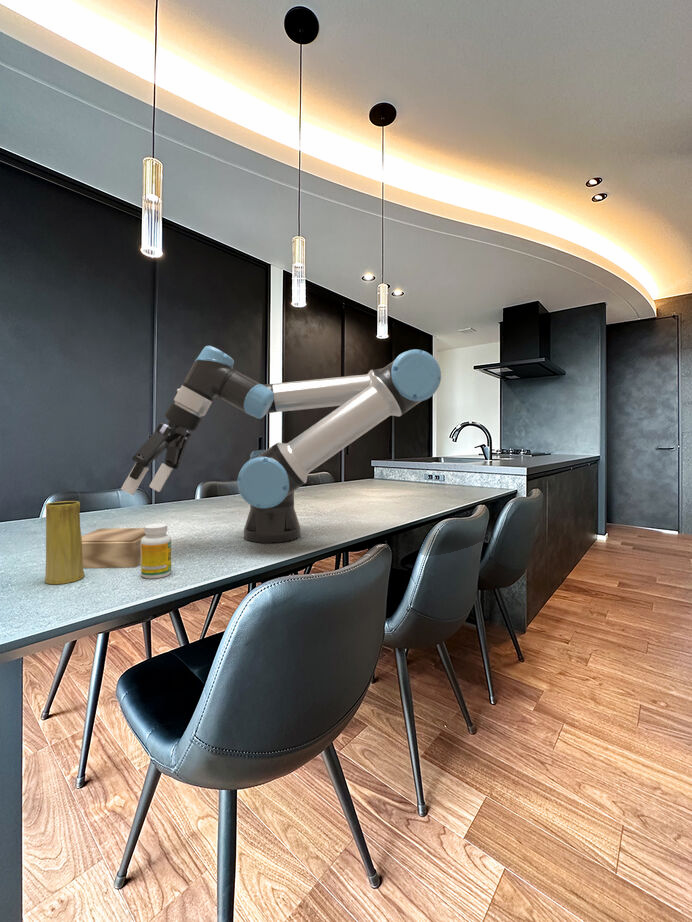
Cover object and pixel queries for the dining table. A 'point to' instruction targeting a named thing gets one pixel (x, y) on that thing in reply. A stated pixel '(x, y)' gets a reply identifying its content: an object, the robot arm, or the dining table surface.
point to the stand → (112, 548)
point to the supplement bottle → (155, 552)
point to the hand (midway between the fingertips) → (141, 490)
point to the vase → (63, 543)
